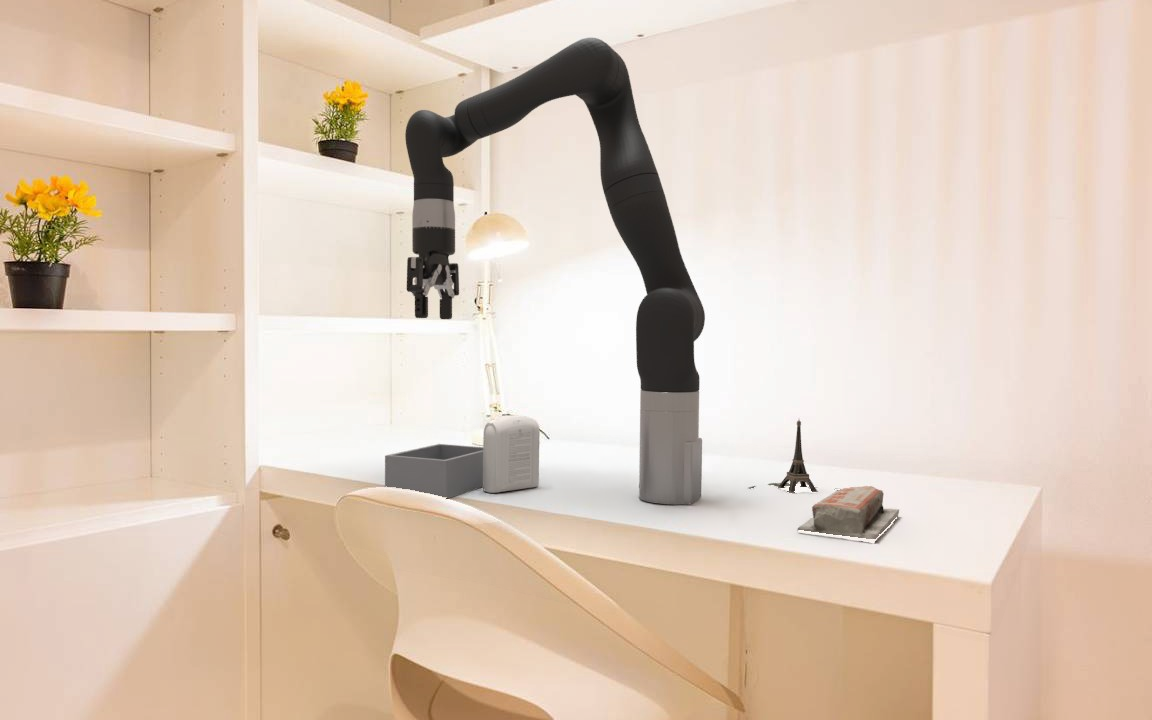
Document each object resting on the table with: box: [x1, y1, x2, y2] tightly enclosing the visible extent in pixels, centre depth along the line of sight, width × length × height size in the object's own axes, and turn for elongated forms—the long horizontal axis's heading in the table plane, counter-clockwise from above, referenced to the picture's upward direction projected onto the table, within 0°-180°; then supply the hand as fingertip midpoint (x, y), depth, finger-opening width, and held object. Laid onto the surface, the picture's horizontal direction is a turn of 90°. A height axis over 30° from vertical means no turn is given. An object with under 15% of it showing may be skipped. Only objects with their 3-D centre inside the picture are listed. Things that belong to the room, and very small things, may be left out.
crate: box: [384, 443, 483, 499], centre depth 135 cm, size 12×16×6 cm
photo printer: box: [482, 414, 541, 494], centre depth 134 cm, size 10×4×12 cm, turn 134°
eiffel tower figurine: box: [748, 419, 819, 494], centre depth 136 cm, size 15×10×13 cm
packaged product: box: [797, 485, 900, 539], centre depth 111 cm, size 18×5×10 cm
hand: (434, 318), depth 144 cm, fingers open, 8 cm apart
